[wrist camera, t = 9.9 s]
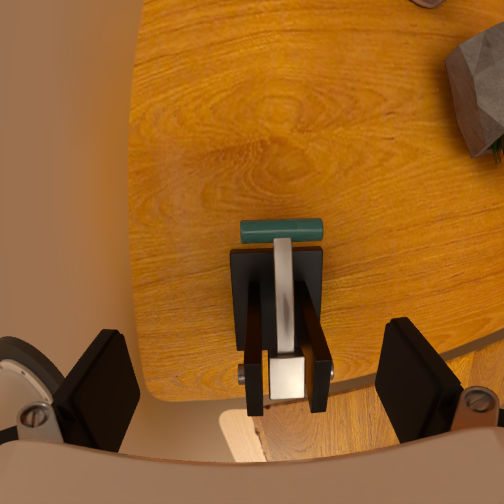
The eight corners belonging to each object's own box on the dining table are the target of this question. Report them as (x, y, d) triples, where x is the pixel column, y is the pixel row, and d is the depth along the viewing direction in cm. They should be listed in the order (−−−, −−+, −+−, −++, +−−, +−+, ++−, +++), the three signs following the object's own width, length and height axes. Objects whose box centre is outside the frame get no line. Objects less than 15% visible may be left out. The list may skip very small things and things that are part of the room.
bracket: (230, 249, 28) (211, 321, 16) (320, 246, 28) (364, 314, 16) (237, 344, 31) (228, 442, 19) (316, 341, 31) (342, 435, 19)
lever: (241, 223, 21) (239, 217, 19) (317, 220, 21) (324, 214, 18) (248, 387, 20) (246, 400, 18) (320, 383, 20) (327, 396, 18)
